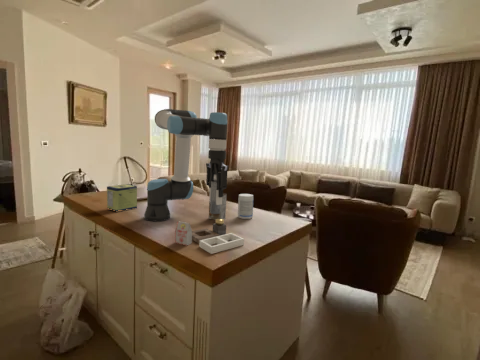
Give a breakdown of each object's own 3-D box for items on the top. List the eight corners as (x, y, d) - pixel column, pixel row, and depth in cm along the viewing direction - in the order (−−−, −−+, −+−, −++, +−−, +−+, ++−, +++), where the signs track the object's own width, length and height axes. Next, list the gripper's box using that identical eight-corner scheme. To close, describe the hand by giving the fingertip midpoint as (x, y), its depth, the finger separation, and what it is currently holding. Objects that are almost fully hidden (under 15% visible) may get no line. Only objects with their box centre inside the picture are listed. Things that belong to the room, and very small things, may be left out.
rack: (199, 246, 121) (199, 240, 120) (231, 238, 133) (231, 232, 132) (211, 253, 114) (211, 247, 113) (243, 244, 126) (244, 238, 125)
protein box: (137, 208, 182) (137, 185, 180) (116, 212, 169) (115, 188, 167) (127, 205, 187) (127, 183, 185) (106, 209, 174) (106, 186, 172)
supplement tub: (255, 218, 171) (256, 195, 169) (243, 220, 165) (244, 197, 163) (246, 214, 179) (247, 193, 177) (234, 216, 173) (235, 194, 171)
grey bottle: (208, 212, 118) (209, 174, 116) (216, 210, 121) (217, 173, 119) (214, 214, 115) (215, 175, 113) (222, 213, 118) (223, 174, 115)
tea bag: (180, 240, 128) (180, 220, 126) (191, 243, 125) (192, 222, 123) (175, 242, 124) (175, 222, 123) (186, 245, 122) (187, 224, 120)
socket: (186, 236, 134) (186, 226, 133) (216, 229, 145) (216, 220, 145) (198, 243, 124) (199, 233, 124) (230, 236, 136) (230, 226, 136)
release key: (213, 231, 139) (213, 219, 138) (220, 229, 142) (220, 218, 141) (218, 233, 136) (218, 221, 135) (225, 232, 139) (225, 220, 138)
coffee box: (208, 218, 165) (208, 193, 163) (213, 216, 171) (214, 191, 169) (221, 221, 162) (222, 195, 159) (226, 218, 167) (227, 193, 165)
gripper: (237, 151, 110) (234, 206, 113) (213, 149, 123) (211, 198, 126) (222, 150, 105) (220, 208, 108) (199, 148, 118) (197, 200, 122)
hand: (215, 203), depth 117 cm, fingers closed on grey bottle, 4 cm apart
